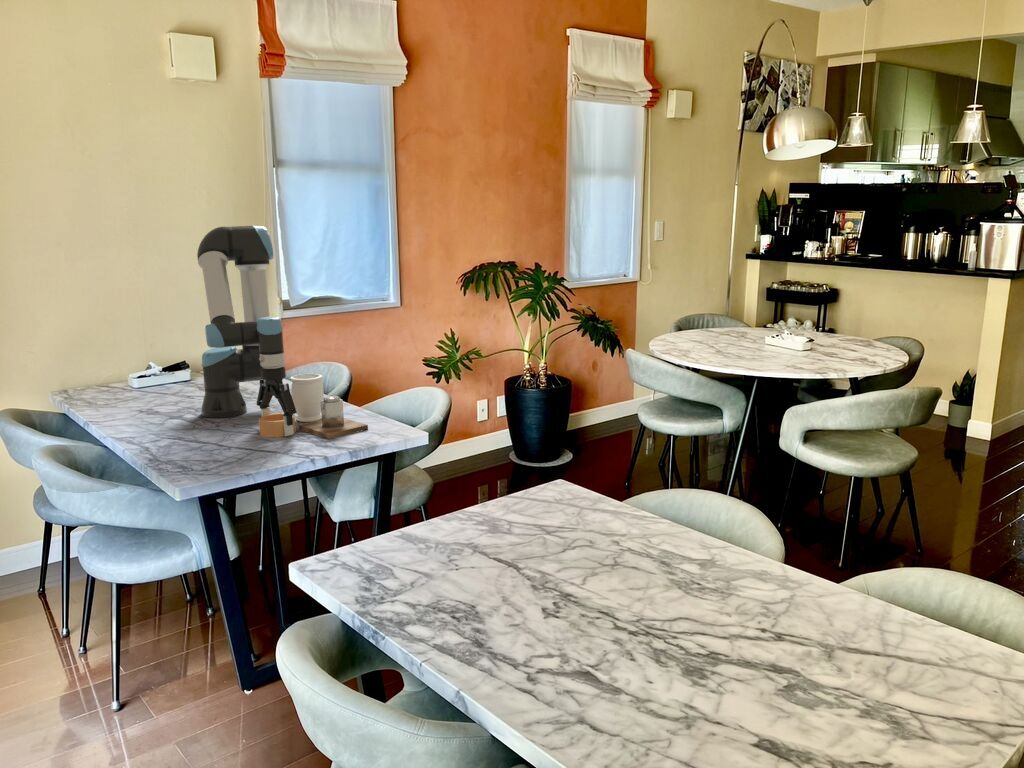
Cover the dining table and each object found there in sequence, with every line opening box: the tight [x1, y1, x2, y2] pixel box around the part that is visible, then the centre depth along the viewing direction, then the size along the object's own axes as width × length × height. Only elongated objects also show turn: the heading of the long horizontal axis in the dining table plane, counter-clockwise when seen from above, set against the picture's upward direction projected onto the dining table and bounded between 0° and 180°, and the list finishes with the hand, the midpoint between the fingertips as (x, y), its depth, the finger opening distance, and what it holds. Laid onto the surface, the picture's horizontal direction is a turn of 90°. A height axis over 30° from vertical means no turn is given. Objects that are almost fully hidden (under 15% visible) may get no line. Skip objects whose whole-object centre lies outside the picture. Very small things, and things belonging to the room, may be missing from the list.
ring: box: [258, 412, 297, 438], centre depth 264 cm, size 11×11×5 cm
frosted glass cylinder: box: [320, 395, 345, 428], centre depth 266 cm, size 7×7×9 cm
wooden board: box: [298, 417, 369, 440], centre depth 267 cm, size 17×15×2 cm
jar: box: [289, 373, 325, 423], centre depth 279 cm, size 11×10×15 cm
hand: (278, 431), depth 264 cm, fingers open, 13 cm apart
